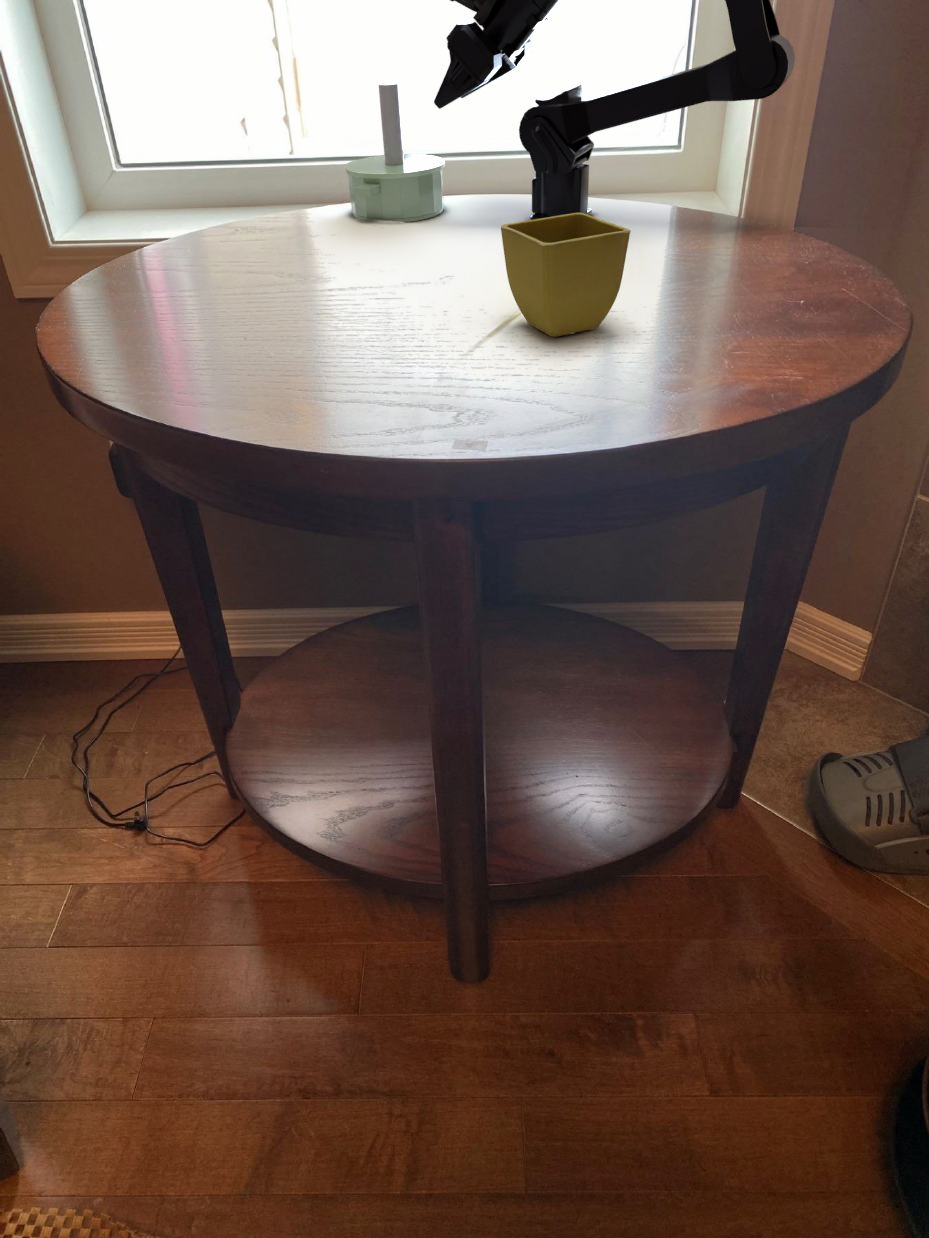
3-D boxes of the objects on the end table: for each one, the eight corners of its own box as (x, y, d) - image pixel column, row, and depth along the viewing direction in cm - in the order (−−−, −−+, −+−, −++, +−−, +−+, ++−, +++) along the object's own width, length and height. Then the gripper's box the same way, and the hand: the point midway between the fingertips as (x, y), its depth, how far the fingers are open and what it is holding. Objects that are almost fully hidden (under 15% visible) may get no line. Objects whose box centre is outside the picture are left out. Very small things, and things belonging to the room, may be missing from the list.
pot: (466, 200, 131) (465, 158, 127) (407, 231, 118) (404, 184, 115) (390, 195, 135) (387, 154, 132) (325, 224, 122) (319, 179, 119)
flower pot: (499, 321, 88) (498, 223, 83) (577, 306, 91) (581, 210, 85) (543, 349, 82) (545, 244, 76) (626, 332, 84) (633, 230, 79)
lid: (447, 180, 118) (443, 87, 112) (343, 186, 118) (332, 93, 112) (442, 161, 129) (438, 75, 123) (347, 166, 129) (338, 80, 123)
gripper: (506, -66, 112) (427, 42, 122) (460, -65, 98) (375, 56, 107) (567, 9, 115) (485, 109, 124) (531, 21, 101) (442, 132, 110)
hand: (448, 100), depth 116 cm, fingers open, 9 cm apart
